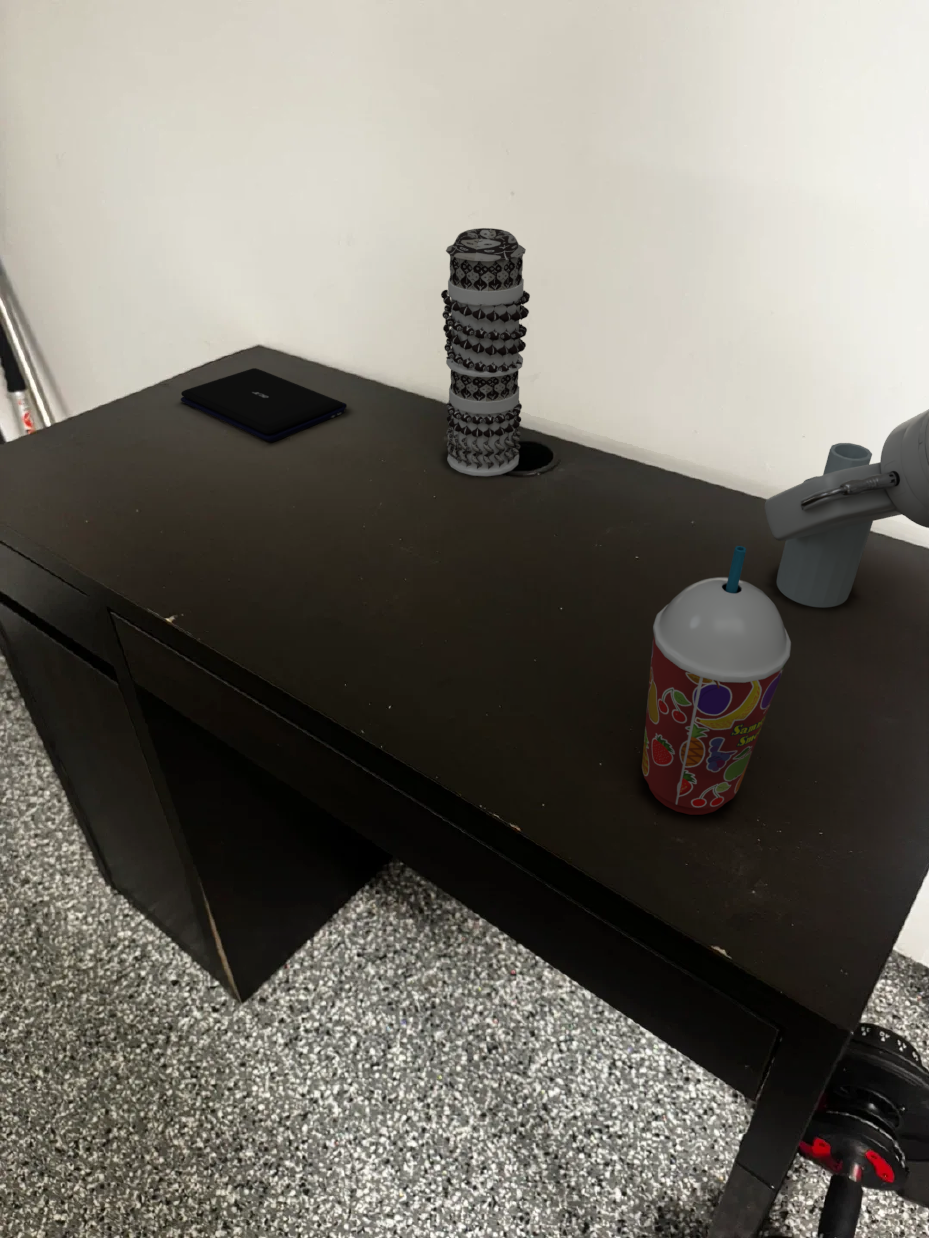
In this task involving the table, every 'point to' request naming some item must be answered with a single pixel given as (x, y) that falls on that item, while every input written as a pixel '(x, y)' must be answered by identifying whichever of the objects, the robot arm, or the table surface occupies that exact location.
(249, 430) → the laptop
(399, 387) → the table surface
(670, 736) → the smoothie
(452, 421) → the decorative candle
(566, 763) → the table surface
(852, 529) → the small bottle
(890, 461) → the robot arm
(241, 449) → the table surface
